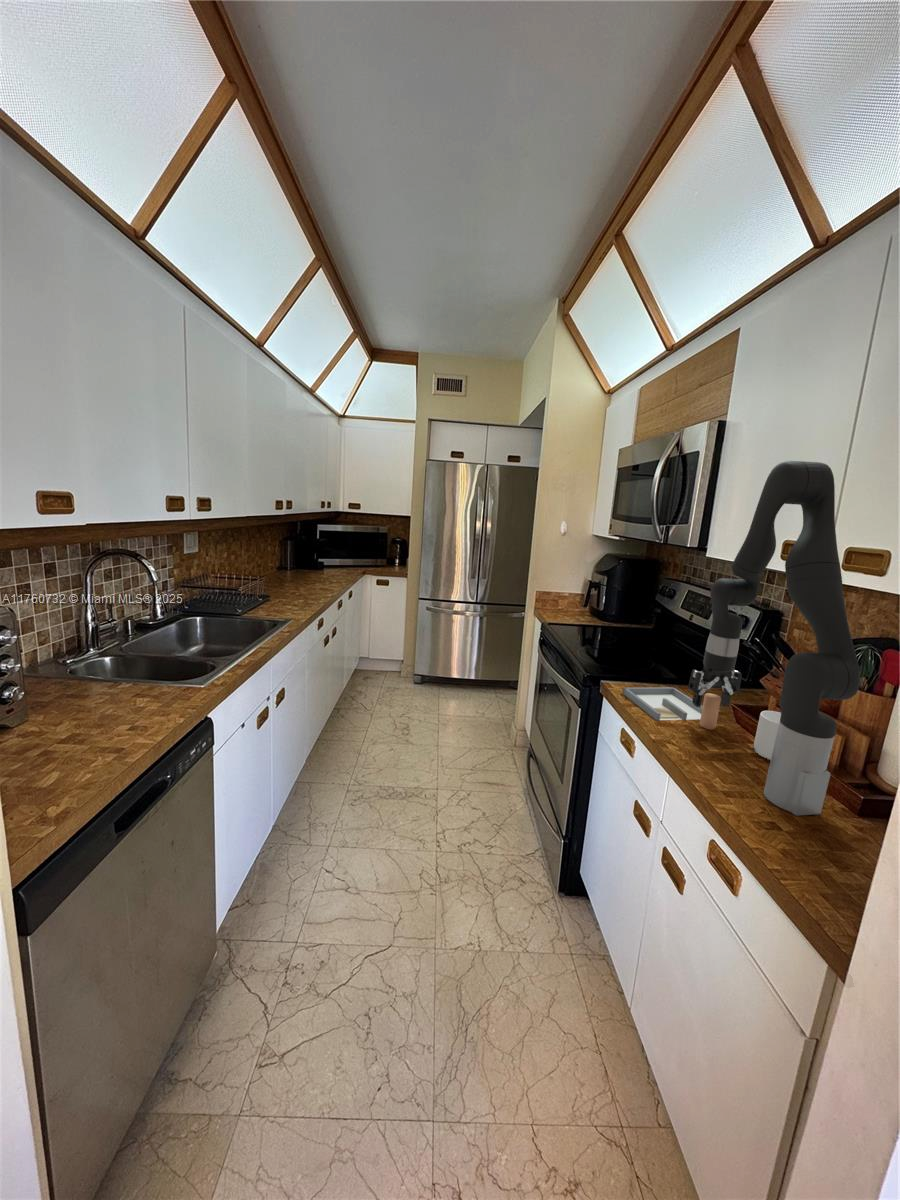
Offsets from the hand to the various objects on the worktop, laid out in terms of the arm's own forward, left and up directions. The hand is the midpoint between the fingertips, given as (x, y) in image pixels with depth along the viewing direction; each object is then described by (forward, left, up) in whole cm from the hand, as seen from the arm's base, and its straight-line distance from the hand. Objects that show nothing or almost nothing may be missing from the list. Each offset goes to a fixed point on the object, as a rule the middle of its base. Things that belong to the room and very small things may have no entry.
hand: (710, 705), depth 131 cm
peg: (0, 0, -7) cm, 7 cm away
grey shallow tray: (+13, +4, -7) cm, 15 cm away
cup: (-12, -9, -7) cm, 17 cm away
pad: (+8, +9, -6) cm, 13 cm away
